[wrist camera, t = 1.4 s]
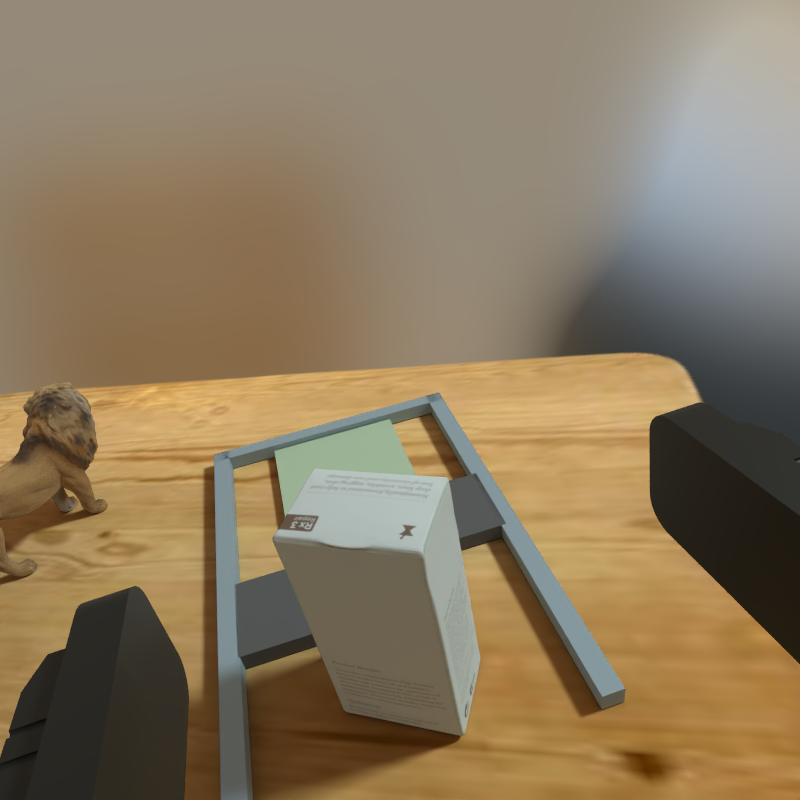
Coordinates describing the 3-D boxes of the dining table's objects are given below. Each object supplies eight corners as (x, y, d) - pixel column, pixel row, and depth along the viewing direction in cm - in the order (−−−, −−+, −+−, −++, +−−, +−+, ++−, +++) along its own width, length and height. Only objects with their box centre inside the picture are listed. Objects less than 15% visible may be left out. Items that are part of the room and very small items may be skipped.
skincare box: (482, 656, 31) (458, 468, 25) (464, 747, 28) (430, 555, 21) (366, 637, 33) (314, 458, 26) (335, 719, 30) (267, 536, 23)
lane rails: (624, 701, 28) (625, 688, 28) (228, 844, 26) (221, 833, 25) (440, 403, 50) (439, 392, 50) (218, 464, 48) (214, 454, 47)
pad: (424, 498, 41) (423, 491, 41) (289, 538, 40) (287, 531, 40) (390, 425, 49) (389, 418, 48) (276, 457, 47) (274, 450, 47)
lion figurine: (92, 466, 50) (40, 370, 45) (144, 474, 48) (96, 374, 43) (-76, 617, 39) (-168, 512, 34) (-16, 635, 37) (-105, 525, 32)
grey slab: (507, 535, 37) (506, 523, 37) (427, 560, 37) (425, 548, 36) (477, 484, 42) (475, 473, 41) (404, 506, 41) (402, 494, 40)
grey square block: (337, 639, 33) (333, 627, 33) (243, 669, 32) (237, 657, 32) (322, 570, 37) (319, 559, 37) (239, 596, 37) (234, 584, 36)
